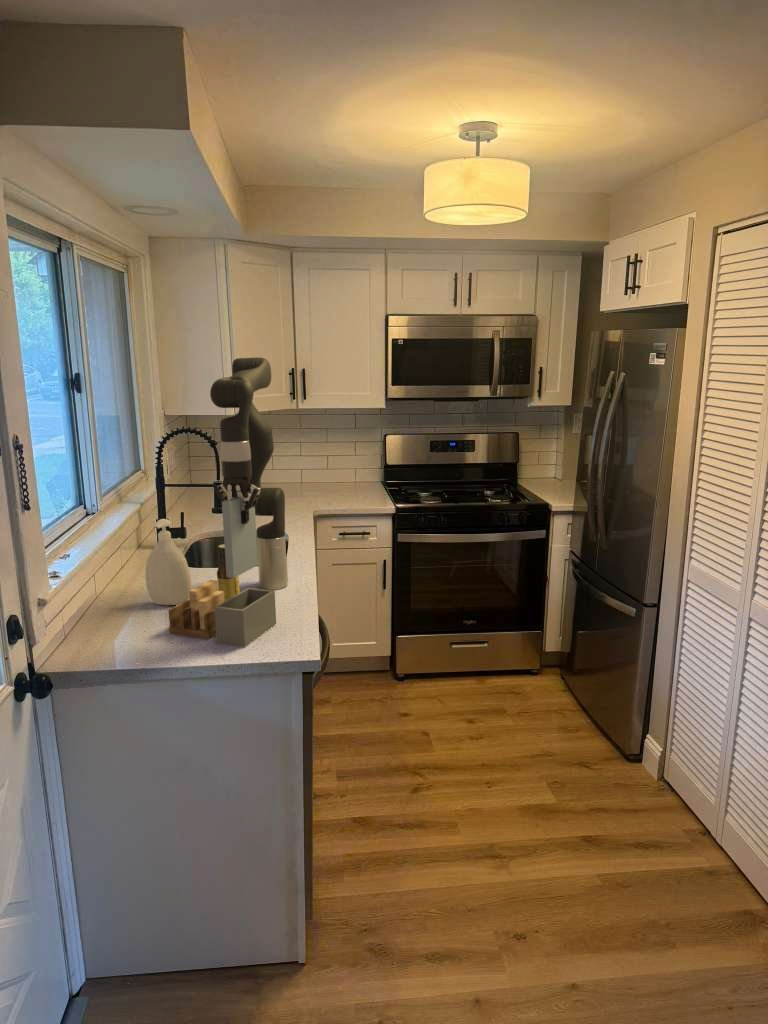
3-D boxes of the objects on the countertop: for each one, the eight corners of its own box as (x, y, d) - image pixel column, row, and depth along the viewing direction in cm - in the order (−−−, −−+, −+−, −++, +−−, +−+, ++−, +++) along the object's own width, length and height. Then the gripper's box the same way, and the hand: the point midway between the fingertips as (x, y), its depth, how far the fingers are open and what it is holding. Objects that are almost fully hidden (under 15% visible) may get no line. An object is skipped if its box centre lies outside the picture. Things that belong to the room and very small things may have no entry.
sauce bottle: (232, 603, 205) (228, 541, 201) (245, 607, 201) (241, 544, 197) (214, 609, 200) (210, 545, 196) (227, 613, 197) (223, 549, 192)
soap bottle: (140, 608, 202) (132, 521, 196) (153, 599, 210) (146, 516, 204) (185, 610, 200) (178, 523, 194) (196, 601, 208) (190, 517, 202)
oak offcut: (212, 612, 192) (210, 579, 190) (219, 613, 191) (217, 580, 189) (191, 625, 182) (189, 590, 180) (198, 626, 182) (195, 591, 180)
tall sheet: (251, 564, 183) (247, 493, 179) (257, 565, 183) (254, 494, 179) (226, 577, 172) (221, 501, 168) (233, 577, 172) (229, 502, 168)
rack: (199, 616, 195) (198, 593, 193) (237, 621, 190) (236, 598, 189) (169, 633, 182) (167, 609, 180) (209, 639, 178) (207, 615, 176)
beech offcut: (219, 617, 188) (217, 590, 186) (225, 618, 187) (223, 591, 186) (200, 628, 180) (198, 601, 178) (207, 629, 179) (205, 601, 177)
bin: (249, 620, 191) (247, 587, 188) (276, 624, 188) (274, 590, 186) (216, 643, 175) (214, 607, 173) (245, 647, 172) (242, 610, 170)
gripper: (267, 457, 172) (270, 522, 176) (221, 455, 177) (225, 518, 181) (251, 461, 166) (255, 528, 169) (204, 459, 170) (209, 524, 174)
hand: (240, 523), depth 175 cm, fingers closed on tall sheet, 2 cm apart
